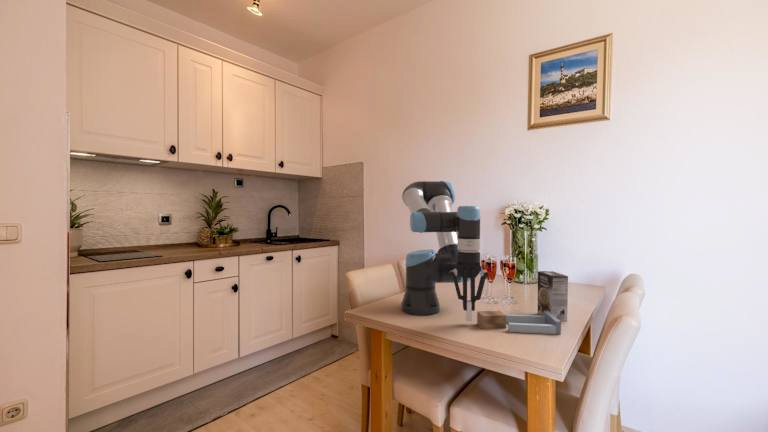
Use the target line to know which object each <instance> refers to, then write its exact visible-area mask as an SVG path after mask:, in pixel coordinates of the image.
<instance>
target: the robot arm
mask: <svg viewBox="0 0 768 432" xmlns="http://www.w3.org/2000/svg"><path fill="white" fill-rule="evenodd" d="M401 196H402V197H401V198H402V202H403V204H404V205H405V206H406V207H408V209H409V211H410V215H409V227H410V230H411V232H413V233H420V234H422V233H436V236H437V242H438V247H439V249H438V250H437V251H436V250H435V249H432V248H431V249H417V250H413V251H410V252H408V253H407V254H406V256H405V291H404V295H403V298H402V300H401V305H400V306H401V311H402V312H404V313H406V314H409V315H416V316H428V315H430V316H431V315H434V314H438V313H439V312H440V311H441V309H440V307H441V304H440V300H439V298H438V294H437V292H436V284H440V283H441V284H443V283H447V284H448V283H451V284H452V283H453V284H454V287H455V292H456V295H457V298H458V300H461V301H462V309H463V311H465V313H466V314H465V315H466V316H465V318H466V322H472V313H473V312H474V311H475V310H476V304H475V303H476V301H479V300H481V297H482V294H483V290H484V286H485V281H486V280H487V278H488V276H489V272H488V271H486V270H484V269H482V265H481V252H480V251H481V219H482V218H481V217H482V216H481V209H480V207H479V206H477V205H460V206H458V207H457V211H452V205H454V202H455V199H456V195H455V189H454V185H452V183H451V182H449V181H444V180H440V181H428V180H427V181H425V180H424V181H418V180H417V181H414V182H412V183H409V185H407V186H406V187H405V188H404V190H403V191H402V195H401ZM478 275H480V279H479V282H478V287H477V290H476V277H478ZM468 282H470V286H469V287H470V299H468ZM460 283H462V293H461V289H460V286H459V285H460Z"/></svg>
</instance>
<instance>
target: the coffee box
mask: <svg viewBox="0 0 768 432" xmlns="http://www.w3.org/2000/svg"><path fill="white" fill-rule="evenodd" d="M568 292H569V276H568V275H566V274H562V273H560V272H556V271H550V270H549V271H547V270H541V271H540V270H539V271H537V315H542V316H544V311H549V312H550V313H551V314H552V315H553V316H555V317H556V318H557V319H558V320H559V321H561V322H567V321H568V303H569V302H568V300H569V299H568V298H569V297H568V296H569V295H568V294H569V293H568Z"/></svg>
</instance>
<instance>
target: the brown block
mask: <svg viewBox="0 0 768 432" xmlns="http://www.w3.org/2000/svg"><path fill="white" fill-rule="evenodd" d="M505 314H506V313H503V312H502V311H501V310H481V311H476V324H477V325H478V326H479V327H480V328H481V329H482V330H491V329H492V330H494V329H507V323H506V315H505Z"/></svg>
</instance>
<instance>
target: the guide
mask: <svg viewBox="0 0 768 432" xmlns="http://www.w3.org/2000/svg"><path fill="white" fill-rule="evenodd" d="M504 314H505V315H506V324H507V323H508V325H507V326H508V327H507V328H508V329H507V330H508V332H509V333H524V334H525V333H527V334H542V335H543V334H544V335H545V334H547V335H548V334H549V335H553V334H554V335H561V333H562V331H561V330H562V321H559V320H558V319H557V318H556V317H555V316H553V315H552V314H551V313H550V312H549V311H544V316H542V315H540V314H536V315H535V314H512V313H511V314H510V313H504Z"/></svg>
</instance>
